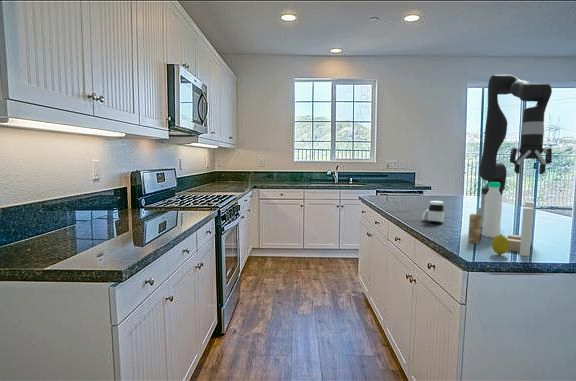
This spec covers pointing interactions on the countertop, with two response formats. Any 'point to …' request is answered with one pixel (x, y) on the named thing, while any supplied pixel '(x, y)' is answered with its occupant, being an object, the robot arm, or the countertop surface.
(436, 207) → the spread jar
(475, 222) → the tan wooden block
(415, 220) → the countertop surface
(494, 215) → the water bottle
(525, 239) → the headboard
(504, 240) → the lemon
